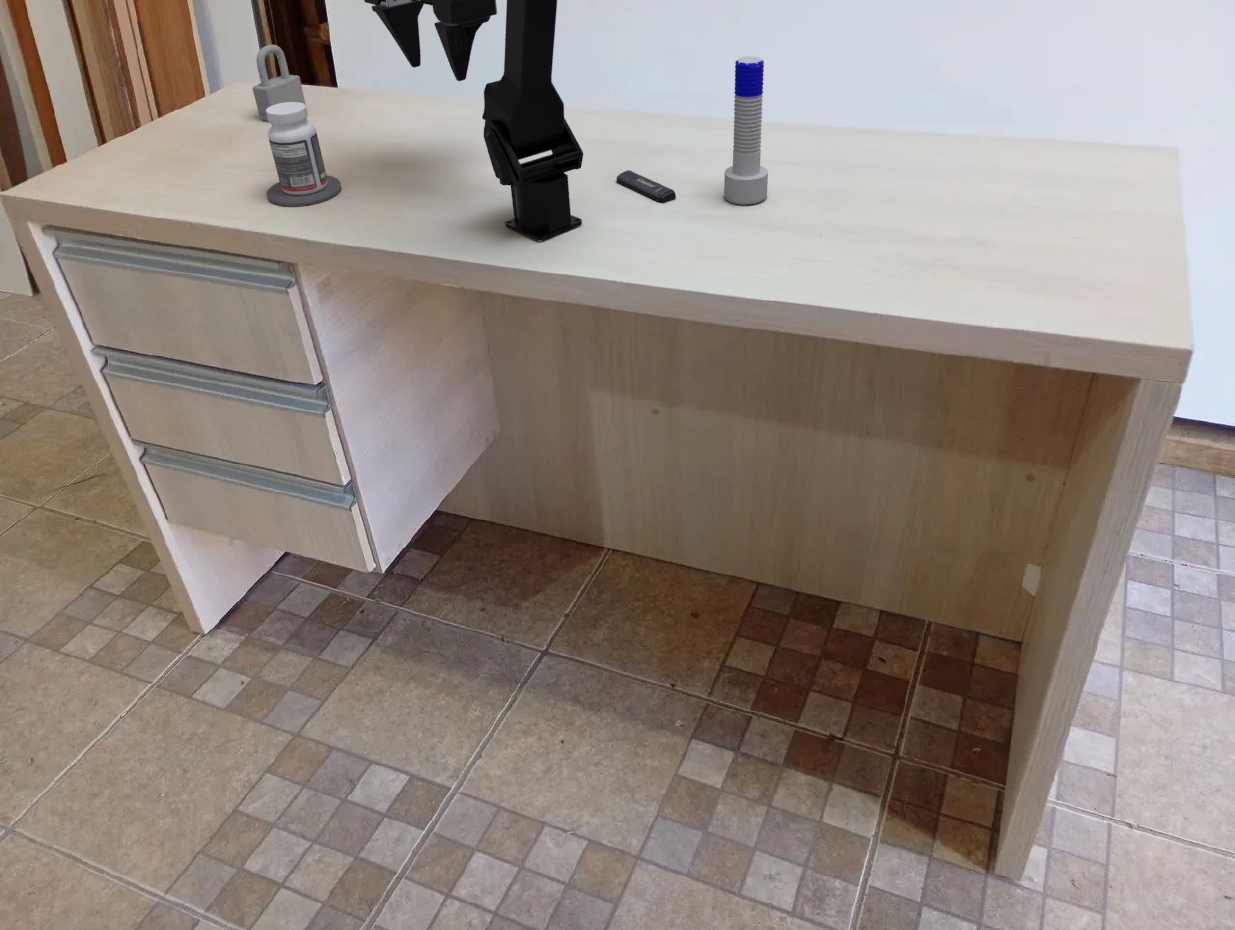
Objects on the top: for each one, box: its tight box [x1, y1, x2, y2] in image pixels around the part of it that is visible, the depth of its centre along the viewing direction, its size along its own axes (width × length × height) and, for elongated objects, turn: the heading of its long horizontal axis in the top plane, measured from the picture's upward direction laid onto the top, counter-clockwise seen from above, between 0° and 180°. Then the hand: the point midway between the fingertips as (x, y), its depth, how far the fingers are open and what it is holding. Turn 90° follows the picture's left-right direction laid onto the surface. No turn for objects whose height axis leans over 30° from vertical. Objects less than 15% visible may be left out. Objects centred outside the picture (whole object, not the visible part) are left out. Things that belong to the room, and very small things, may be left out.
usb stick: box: [616, 169, 677, 204], centre depth 124 cm, size 10×3×2 cm, turn 35°
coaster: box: [266, 174, 342, 208], centre depth 128 cm, size 9×9×1 cm
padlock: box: [252, 44, 307, 122], centre depth 151 cm, size 7×4×10 cm, turn 152°
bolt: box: [723, 56, 769, 206], centre depth 116 cm, size 16×5×5 cm
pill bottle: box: [266, 102, 328, 195], centre depth 125 cm, size 6×6×10 cm
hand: (438, 73), depth 122 cm, fingers open, 9 cm apart
